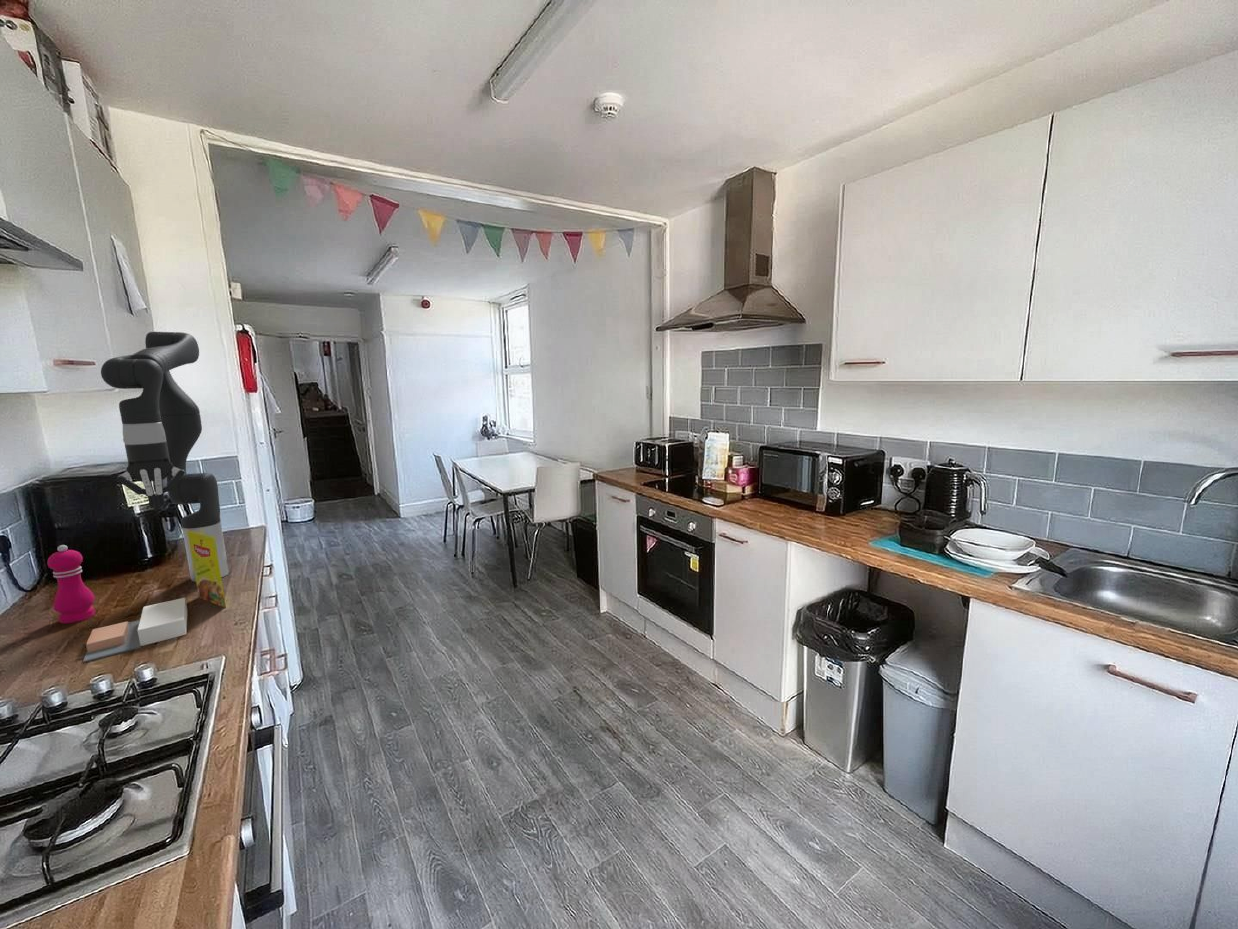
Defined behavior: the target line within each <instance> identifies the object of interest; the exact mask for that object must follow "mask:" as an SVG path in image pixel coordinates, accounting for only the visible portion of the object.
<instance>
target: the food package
mask: <svg viewBox="0 0 1238 929" xmlns="http://www.w3.org/2000/svg"><path fill="white" fill-rule="evenodd" d="M187 532H188V537H189V543H190V549H191V555H192V561H193V567H194V572H195V578H196V582H195V583H196V588H197V594H198V598H200V599H201V600H202V599H203V600H205V601H208V602H210V603H212V604H215V605H217V606H220V607H223V608H227V605H226V598H225V593H224V587H223V586H224V585H223V580H222V577H221V573H220V567H219V560H218V554H217V548H216V543H215V538H214V537H211V536H207V535H203V534H200V533H196V532H192V531H189V530H187Z"/></svg>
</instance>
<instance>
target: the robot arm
mask: <svg viewBox="0 0 1238 929" xmlns="http://www.w3.org/2000/svg"><path fill="white" fill-rule="evenodd" d="M144 339H145V342H144V343H145V348H143V349H141V350H138V351H137V352H135V353H133V354H130V355H129V354H127V355H121V356H116V357H113V358H109V359H107V360H106V361H105V362H104V363H103V364H102V366H101V369H100V375H101V378H102V380H103V382H105V383H106V385H108V386H110V387H112V388H115V389H119V390H120V389H121V390H122V389H123V390H126V389H127V390H133V389H138V390H139V389H142V392H141V394H140V395H139V396H137V397H132V398H126V399H123V400H121V401H120V402H119V403H118V408H119V413H120V420H121V423H122V437H123V438H122V441H123V443H124V449H125V454H126V457H127V458H126V459H127V466H126V468H125V469H126V471H125V472H123V473H122V474H120V475H118V476H117V477H116V481H117V482H119V483H120V484H122V485H123V486H125V487H126V488H127V489H128V490H131V491H132V492H134V493H136V494H137V495H138V496H139V495H144V496H147V500H148V504H149V508H150V509H153V510H154V511H157V510H162V509H163V507H165V505H166V500H165V496H164V495H165V493H167V494H168V497H169V500H171V501H170V502H172V503H173V504H175V505H193V504H194V505H195V504H199V509H198V510H197V511H195V512H193V513H190V514H187V515H185V516H183V517H182V518H181V520H180V525H181V529H182V536H183V540H184V546H185V551H186V558H187V564H188V569H189V576H190V581H191V582H194V583H196V578H195V572H194V567H193V561H192V555H191V549H190V543H189V537H188V532H187V530H189V531H192V532H196V533H200V534H203V535H207V536H211V537H214V538H215V543H216V548H217V554H218V560H219V567H220V573H221V578H224V577H225V576H227V575H229V573H230V572H229V571H230V570H229V565H228V558H227V553H226V546H225V540H224V533H223V527H222V521H221V506H220V496H219V485H218V481H217V479H216V476H214V475H213V473H210V472H200V473H199V472H197V473H196V472H195V473H187V459H188V457H189V454H190V452H191V450H192V449H193V447H194V445H195V444H196V443H197V441H198V439H199V438H200V435H201V433H202V430H203V426H202V419H201V414H200V413H201V412H200V409H199V407H198V405H197V404H196V402H195V401H194V400H193V399H192V398H191V397H190V396H189V395H188V394H187V393H186V392H185V391H184V390H183V389H182V388H181V387H180V386H179V385H178V383H177V382H176V381H175V379H174V378H173V376H172V374H171V372H170V371H172V370H174V369H176V368H178V367H181V366H185V365H189V364H190V365H191V364H194V363H196V362H197V361H198V359H199V356H200V348H199V345H198V344H199V343H198V341H197V340H196V338H195V337H194V336H193V335H192V334H191V333H187V332H181V331H180V332H179V331H149V332H148V333H147V334H146V335H145V338H144ZM131 476H132V477H133V478H135V479H136V480H138V481H139V482H141V483H143V484H142V485H143V487H144V488H142V487H141V486H140V485H138V484H136V483H135V482H134V481H133V480H132V477H131ZM165 479H166V485H165V486H164V484H163V481H164V480H165ZM153 482H154V486H155V490H154V487H153V484H152V483H153Z"/></svg>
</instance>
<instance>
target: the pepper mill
mask: <svg viewBox="0 0 1238 929" xmlns="http://www.w3.org/2000/svg"><path fill="white" fill-rule="evenodd" d="M83 558H84V557H83V555H82V554H81V552H79V551H77V550H73V549H68V546H67V545H65V544H61V545H59V546H57V552H54V553H52V554H51V555H49V557H48V559H47V561H46V562H47V566H48V568H49V569H50V570H53V571H52V574H53V578H56V581H57V591H56V594H55V597H54V599H53V609H54V611H55V612H58V613H60V614H59V615H58V620H59V623H61V624H71V623H72V624H73V623H78V622H80V621H84V620H87V619H89V618H91V617H93V616H94V615H95V614H96V611H95V610H96V609H95V607H94V606H92V605H93V604H94V603H95V600H96V599H95V598H96V597H95V595H94V593H93V592H92V590H91V589H89V587H87V586H86V585H85V583H84V581H83V579H82V576H81V574H82V573H83V569H82V568H83V567H82V566H81V564H82V562H83V560H84V559H83Z"/></svg>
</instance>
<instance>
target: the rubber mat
mask: <svg viewBox="0 0 1238 929" xmlns="http://www.w3.org/2000/svg"><path fill="white" fill-rule="evenodd" d="M139 623H140V619H139V620H138V619H137V620H134V621H131V622H129V621H128V624H129V632H128V635H127V639H126V642H125V643H124V644H120V645H116V646H112V647H108V648H104V649H100V650H96V651H92V652H88V651H87V650H86V653H85V655H84V658H83V660H82V662H83V664H85V663H88V662H92V661H95V660H99V659H103V658H106V657H107V658H108V657H111V656H115V655H120V654H123V653H126V652H130V651H134V650H138V649H141V647H142V646H140V641H139V635H138V626H139Z"/></svg>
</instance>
